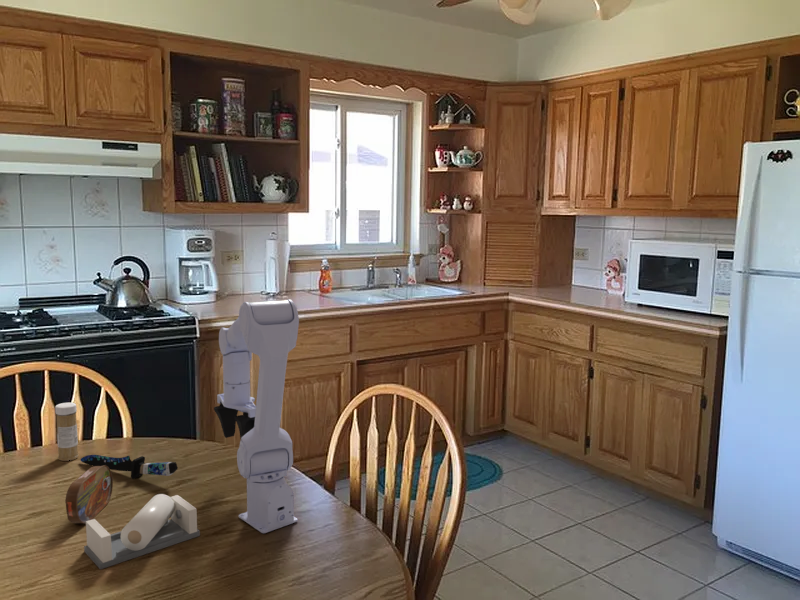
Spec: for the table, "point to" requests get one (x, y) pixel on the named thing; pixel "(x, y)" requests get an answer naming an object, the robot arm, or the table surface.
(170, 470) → the knife
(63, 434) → the sprinkles bottle
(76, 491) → the tin
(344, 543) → the table surface
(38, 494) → the table surface
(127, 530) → the cylinder
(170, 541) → the holder
